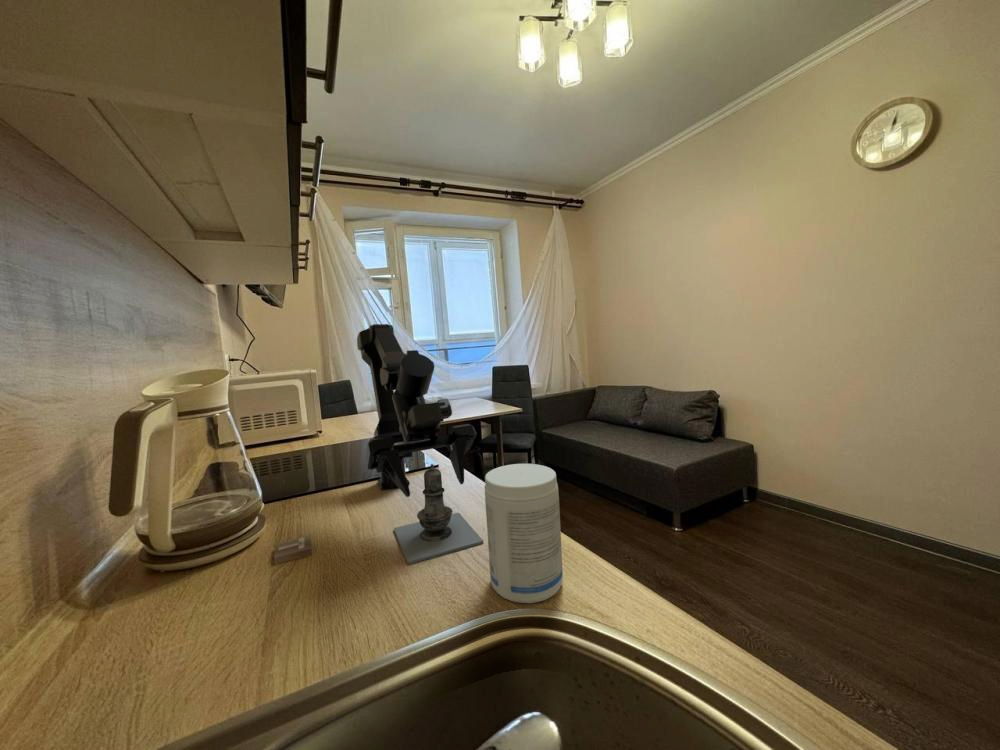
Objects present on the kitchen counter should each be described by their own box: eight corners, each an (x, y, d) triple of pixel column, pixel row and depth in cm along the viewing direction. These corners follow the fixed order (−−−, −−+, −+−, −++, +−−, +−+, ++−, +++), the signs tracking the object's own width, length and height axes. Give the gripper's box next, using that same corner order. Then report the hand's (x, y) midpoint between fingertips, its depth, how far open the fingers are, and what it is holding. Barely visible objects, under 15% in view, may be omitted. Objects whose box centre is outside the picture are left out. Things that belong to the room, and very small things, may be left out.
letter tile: (276, 552, 61) (275, 542, 61) (311, 543, 63) (310, 534, 63) (274, 567, 56) (273, 557, 56) (311, 557, 59) (310, 547, 59)
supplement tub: (574, 573, 51) (570, 468, 50) (543, 618, 43) (538, 492, 42) (512, 555, 56) (508, 459, 55) (475, 591, 48) (469, 479, 47)
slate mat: (393, 530, 65) (393, 528, 65) (458, 514, 71) (458, 512, 70) (408, 564, 55) (407, 562, 55) (483, 543, 60) (483, 540, 60)
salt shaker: (448, 542, 59) (444, 469, 59) (413, 542, 60) (408, 469, 59) (457, 525, 65) (453, 458, 64) (424, 525, 66) (420, 458, 65)
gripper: (363, 390, 60) (383, 476, 51) (469, 380, 69) (502, 452, 60) (359, 430, 67) (375, 511, 58) (455, 416, 76) (482, 485, 67)
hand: (436, 489), depth 61 cm, fingers open, 9 cm apart
